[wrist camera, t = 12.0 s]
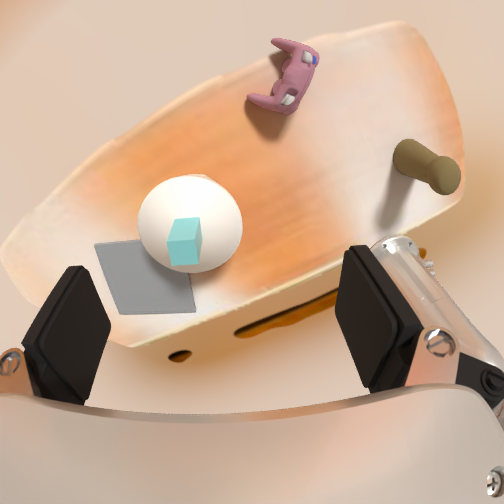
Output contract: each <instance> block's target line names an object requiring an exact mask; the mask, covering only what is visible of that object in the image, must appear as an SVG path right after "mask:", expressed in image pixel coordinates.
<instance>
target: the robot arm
mask: <svg viewBox="0 0 504 504" xmlns="http://www.w3.org/2000/svg"><path fill="white" fill-rule="evenodd" d="M432 266H433V261H432V260H426V261H423V260H422V258H421V257H420V256H419V250H418V247H417V245H416V244H415V243H414V242H413V240H411V239H410V238H409V237H406V236H403V235H393V236H389V237H387V238H384V239H382V240H381V241H379V242H378V243H376V244H375V245H374V246H373V247H372V248H371V249H369V248H368V246H366V245H356V246H350V248H349V250H346V251H345V253H344V259H343V265H342V271H341V277H340V284H339V289H338V294H337V300H336V305H335V315H336V318H337V320H338V323H339V325H340V327H341V330H342V332H343V335H344V337H345V340H346V342H347V345H348V347H349V350H350V352H351V355H352V358H353V360H354V363H355V365H356V368H357V370H358V373H359V376H360V379H361V381H362V384H363V386H364V387H365V388H369V391H370V394H368V395H364V396H359V397H354V398H349V399H344V400H339V401H333V402H328V403H322V404H316V405H310V406H303V407H296V408H288V409H280V410H271V411H260V412H246V413H230V414H161V413H160V414H159V413H143V412H130V411H120V410H111V409H103V408H95V407H89V406H84V403H85V400H87V399H88V398H89V395H90V392H91V388H92V385H93V382H94V378H95V375H96V372H97V369H98V366H99V362H100V359H101V356H102V353H103V350H104V347H105V345H106V342H107V339H108V336H109V333H110V330H111V323H110V320H109V318H108V316H107V314H106V311H105V309H104V307H103V305H102V302H101V300H100V298H99V295H98V293H97V291H96V288H95V286H94V283H93V281H92V278H91V276H90V273H89V271H88V270H87V269H85V268H84V267H83V266H82V265H81V266H69V267H68V268H67V269H66V271H65V272H64V274H63V275H62V277H61V278H60V280H59V281H58V282H57V284H56V285H55V287H54V289H53V290H52V292H51V293H50V295H49V296H48V298H47V299H46V301H45V303H44V304H43V306H42V308H41V309H40V311H39V313H38V314H37V316H36V318H35V319H34V321H33V323H32V324H31V326H30V328H29V330H28V331H27V333H26V335H25V337H24V339H23V341H22V342H21V344H22V345H23V346H24V348H25V351H24V353H23V351H21V350H20V349H18V348H11V349H9V350H7V351H5V352H4V353H3V354H2V355H1V356H0V504H504V360H503V358H502V356H501V354H500V353H499V352H498V351H497V349H496V348H495V347H494V346H493V345H492V344H491V343H490V342H489V341H488V340H487V339H486V338H485V337H484V336H483V335H482V334H481V333H480V332H479V331H478V330H477V329H476V327H475V326H474V325H473V324H472V323H471V322H470V321H469V319H468V318H467V317H466V316H465V314H464V313H463V312H462V311H461V310H460V308H459V307H458V306H457V304H456V303H455V302H454V301H453V299H452V298H451V297H450V296H449V294H448V293H447V292H446V291H445V289H444V288H443V287H442V286H441V285H440V283H439V282H438V281H437V280H436V279H435V278H434V277H435V271H434V270H433V269H427V268H428V267H432Z"/></svg>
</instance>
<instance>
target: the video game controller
mask: <svg viewBox="0 0 504 504" xmlns="http://www.w3.org/2000/svg"><path fill="white" fill-rule="evenodd" d="M271 43H272V44H273V45H274V46H276V47H278V48H279V49H281V50H283V51H285V52H287V53H290V54H292V57H291V58H289V59H287V60H286V61H285V62H284V63H283V65H282V72H283V73H284V74H283V77H282V79H279V80H277V81H276V82H275V84H274V85H273V88H272V91H273V93H274V96H264V95H260V94H248V95H247V99H248V100H249V101H251V102H252V103H254V104H256V105H258V106H260V107H263V108H265V109H268V110H271V111H275V112H279V113H282V114H285V115H290V114H292V113H293V112H294V111H295V110H296V109H297V108H298V106H299V103H300V100H301V98H302V97H303V95H304V94H305V92H306V90H307V88H308V86H309V84H310V82H311V79H312V77H313V74H314V70H315V67H316V66H317V64H318V62H319V54H318V53H317V52H316V51H315V50H313V49H312V48H311V47H309V46H307V45H304V44H302V43H298V42H295V41H291V40H286V39H282V38H274V39H272V40H271Z"/></svg>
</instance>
